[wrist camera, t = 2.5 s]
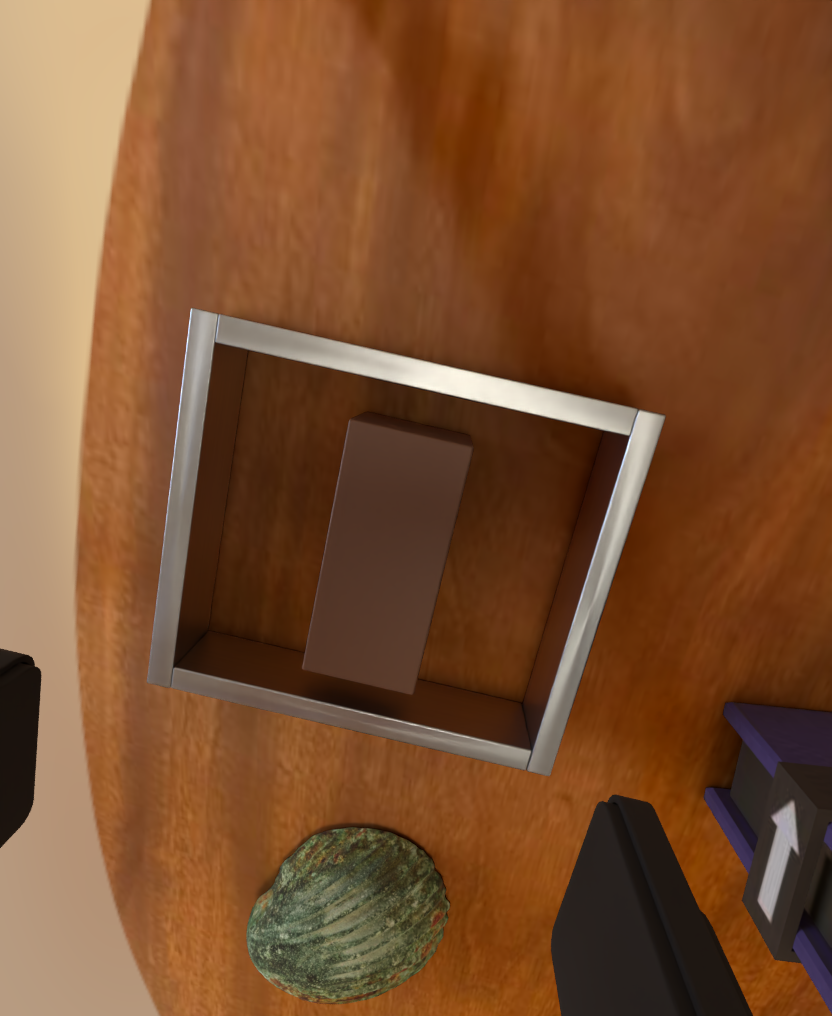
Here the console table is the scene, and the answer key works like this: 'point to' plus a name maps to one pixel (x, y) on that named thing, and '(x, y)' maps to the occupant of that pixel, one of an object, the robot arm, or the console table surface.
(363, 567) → the brown rectangular block
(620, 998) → the robot arm
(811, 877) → the book
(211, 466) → the rectangular frame
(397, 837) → the seashell
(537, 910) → the console table surface
